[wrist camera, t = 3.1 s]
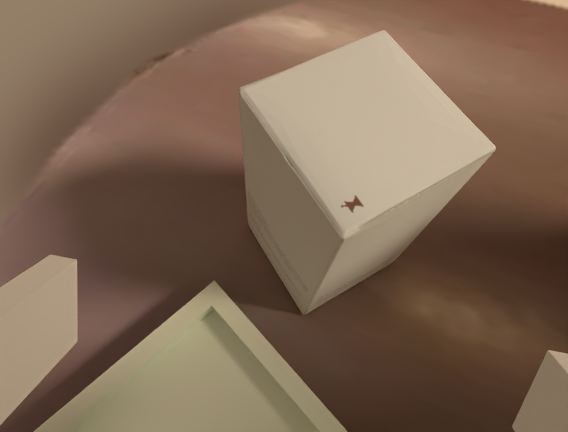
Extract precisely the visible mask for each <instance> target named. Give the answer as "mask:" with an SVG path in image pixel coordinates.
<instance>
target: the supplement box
mask: <svg viewBox="0 0 568 432" xmlns="http://www.w3.org/2000/svg"><path fill="white" fill-rule="evenodd" d="M239 105H240V122H241V136H242V149H243V161H244V173H245V188H246V201H247V218H248V225H249V227H250V229H251V230H252V232H253V234H254V236H255V237H256V239H257V241H258V243H259V244H260V246H261V247H262V249H263V251H264V252H265V254H266V256H267V257H268V259H269V261H270V262H271V264H272V266H273V267H274V269H275V270H276V272H277V274H278V275H279V277H280V279H281V280H282V282H283V283H284V285H285V287H286V288H287V290H288V292H289V293H290V295H291V296H292V298H293V300H294V301H295V303H296V305H297V306H298V308H299V309H300V311H301V313H302V314H303V315H306V314H307V313H309V312H311V311H312V310H314V309H316V308H317V307H319V306H321V305H322V304H324V303H326V302H327V301H329V300H331V299H332V298H334V297H336V296H338V295H339V294H341V293H343V292H344V291H346V290H348V289H349V288H351V287H353V286H354V285H356V284H358V283H359V282H361V281H363V280H364V279H366V278H368V277H369V276H371V275H373V274H374V273H376V272H378V271H379V270H381V269H383V268H384V267H386V266H388V265H389V264H391V263H392V262H394V261H395V260H396V259H397V258H398V257H399V256H400V255H401V253H402V252H403V251H404V250H405V249H406V248H407V247H408V246H409V245H410V244H411V243H412V241H413V240H414V239H415V238H416V237H417V236H418V235H419V234H420V233H421V231H422V230H423V229H424V228H425V227H426V226H427V225H428V224H429V223H430V222H431V220H432V219H433V218H434V217H435V216H436V215H437V214H438V213H439V212H440V211H441V210H442V209H443V208H444V206H445V205H446V204H447V203H448V202H449V201H450V200H451V199H452V198H453V197H454V195H455V194H456V193H457V192H458V191H459V190H460V189H461V188H462V187H463V185H464V184H465V183H466V182H467V181H468V180H469V179H470V178H471V177H472V175H473V174H474V173H475V172H476V171H477V170H478V169H479V168H480V167H481V165H482V164H483V163H484V162H485V161H486V160H487V159H488V158H489V157H490V156H491V154H492V153H493V152H494V151H495V149H496V147H495V146H494V144H493V143H492V142H491V141H490V140H489V139H488V138H487V137H486V136H485V135H484V134H483V133H482V132H481V131H480V130H479V129H478V128H477V127H476V126H475V125H474V124H473V123H472V122H471V121H470V120H469V119H468V118H467V117H466V116H465V115H464V114H463V112H462V111H461V110H460V109H459V108H458V107H457V106H456V105H455V104H454V103H453V102H452V101H451V100H450V99H449V98H448V97H447V96H446V95H445V93H444V92H443V91H442V90H441V89H440V88H439V87H438V86H437V85H436V84H435V83H434V82H433V81H432V80H431V79H430V78H429V77H428V76H427V75H426V73H425V72H424V71H423V70H422V69H421V68H420V67H419V66H418V65H417V64H416V63H415V62H414V61H413V60H412V59H411V58H410V57H409V56H408V54H407V53H406V52H405V51H404V50H403V49H402V48H401V47H400V46H399V45H398V44H397V43H396V42H395V41H394V40H393V39H392V37H391V36H390V35H389V34H388V33H387V32H386V31H384V30H381V31H379V32H377V33H374V34H372V35H369V36H367V37H364V38H362V39H359V40H357V41H354V42H352V43H350V44H347V45H345V46H342V47H340V48H337V49H335V50H333V51H330V52H328V53H325V54H323V55H320V56H318V57H316V58H313V59H311V60H309V61H306V62H304V63H302V64H299V65H297V66H295V67H292V68H289V69H287V70H284V71H281V72H279V73H276V74H274V75H271V76H268V77H266V78H263V79H261V80H258V81H256V82H253V83H251V84H248V85H245V86H242V87H241V88H239Z"/></svg>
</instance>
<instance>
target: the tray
mask: <svg viewBox="0 0 568 432" xmlns="http://www.w3.org/2000/svg"><path fill="white" fill-rule="evenodd" d="M34 432H348V431H347V430H346V429H345V428H344V427H343V426H342V425H341V424H340V422H339V421H338V420H337V419H336V418H335V417H334V416H333V414H332V413H331V412H330V411H329V410H328V409H327V408H326V407H325V405H324V404H323V403H322V402H321V401H320V400H319V399H318V397H317V396H316V395H315V394H314V393H313V392H312V391H311V390H310V388H309V387H308V386H307V385H306V384H305V383H304V382H303V380H302V379H301V378H300V377H299V376H298V375H297V374H296V373H295V371H294V370H293V369H292V368H291V367H290V366H289V365H288V363H287V362H286V361H285V360H284V359H283V358H282V357H281V355H280V354H279V353H278V352H277V351H276V350H275V349H274V348H273V346H272V345H271V344H270V343H269V342H268V341H267V340H266V338H265V337H264V336H263V335H262V334H261V333H260V332H259V331H258V329H257V328H256V327H255V326H254V325H253V324H252V323H251V321H250V320H249V319H248V318H247V317H246V316H245V315H244V314H243V312H242V311H241V310H240V309H239V308H238V307H237V306H236V304H235V303H234V302H233V301H232V300H231V299H230V298H229V296H228V295H227V294H226V293H225V292H224V291H223V290H222V289H221V287H220V286H219V285H218V284H217V283H216V282H215V281H213V282H212V283H211V284H209V285H208V286H207V287H206V288H205V289H203V290H202V291H201V292H200V293H199V294H197V295H196V296H195V297H194V298H193V299H191V300H190V301H189V302H188V303H187V304H185V305H184V306H183V307H182V308H181V309H179V310H178V311H177V312H176V313H175V314H173V315H172V316H171V317H170V318H169V319H168V320H166V321H165V322H164V323H163V324H162V325H160V326H159V327H158V328H157V329H156V330H154V331H153V332H152V333H151V334H150V335H148V336H147V337H146V338H145V339H144V340H142V341H141V342H140V343H139V344H138V345H136V346H135V347H134V348H133V349H132V350H130V351H129V352H128V353H127V354H126V355H124V356H123V357H122V358H121V359H120V360H118V361H117V362H116V363H115V364H114V365H112V366H111V367H110V368H109V369H108V370H107V371H105V372H104V373H103V374H102V375H101V376H99V377H98V378H97V379H96V380H95V381H93V382H92V383H91V384H90V385H89V386H87V387H86V388H85V389H84V390H83V391H81V392H80V393H79V394H78V395H77V396H75V397H74V398H73V399H72V400H71V401H69V402H68V403H67V404H66V405H65V406H63V407H62V408H61V409H60V410H59V411H57V412H56V413H55V414H54V415H53V416H51V417H50V418H49V419H48V420H47V421H45V422H44V423H43V424H42V425H41V426H40V427H38V428H37V429H36V430H35V431H34Z"/></svg>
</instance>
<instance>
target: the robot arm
mask: <svg viewBox="0 0 568 432" xmlns="http://www.w3.org/2000/svg"><path fill="white" fill-rule="evenodd" d="M76 343H77V260H76V259H71V258H66V257H61V256H55V255H49V256H47V257H46V258H44V259H43V260H41V261H40V262H38V263H37V264H35V265H34V266H32V267H30V268H29V269H27V270H26V271H24V272H23V273H21V274H20V275H18V276H17V277H15V278H14V279H12V280H11V281H9V282H7V283H6V284H4V285H3V286H1V287H0V425H1V424H2V423H3V422H4V421H5V420H6V419H7V417H8V416H9V415H10V414H11V413H12V412H13V411H14V410H15V409H16V408H17V407H18V406H19V404H20V403H21V402H22V401H23V400H24V399H25V398H26V397H27V396H28V395H29V394H30V392H31V391H32V390H33V389H34V388H35V387H36V386H37V385H38V384H39V383H40V382H41V381H42V379H43V378H44V377H45V376H46V375H47V374H48V373H49V372H50V371H51V370H52V369H53V367H54V366H55V365H56V364H57V363H58V362H59V361H60V360H61V359H62V358H63V357H64V356H65V354H66V353H67V352H68V351H69V350H70V349H71V348H72V347H73V346H74V345H75V344H76ZM512 428H513V430H514V432H568V354H567V353H562V352H556V351H551V350H548V351H547V353H546V355H545V357H544V359H543V361H542V363H541V366H540V368H539V370H538V372H537V374H536V376H535V378H534V381H533V383H532V385H531V387H530V389H529V391H528V393H527V395H526V398H525V400H524V402H523V404H522V406H521V408H520V410H519V413H518V415H517V417H516V419H515V421H514V423H513V425H512Z"/></svg>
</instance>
